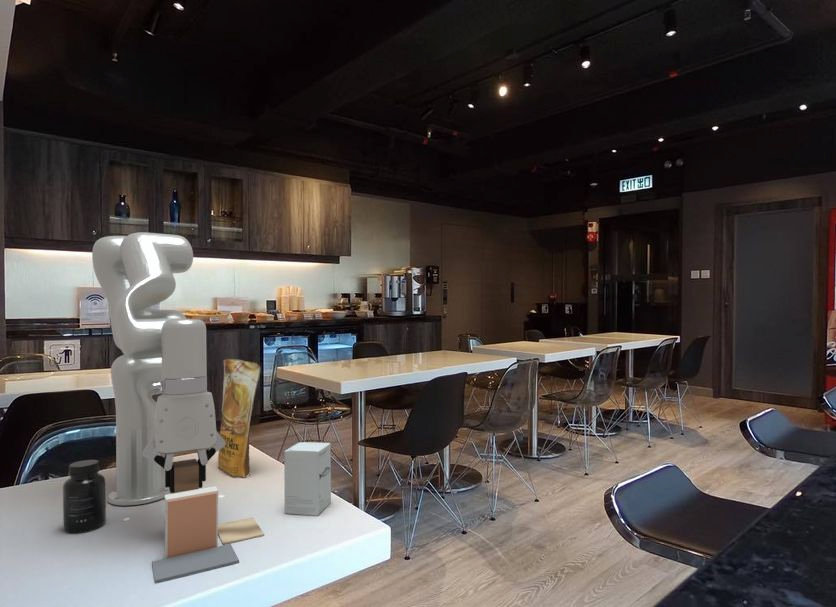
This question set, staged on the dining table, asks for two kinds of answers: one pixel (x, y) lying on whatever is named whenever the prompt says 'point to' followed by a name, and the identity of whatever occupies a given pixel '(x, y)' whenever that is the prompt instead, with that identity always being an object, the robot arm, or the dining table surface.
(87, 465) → the supplement bottle
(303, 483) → the supplement box
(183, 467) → the wooden block stack
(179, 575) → the mat
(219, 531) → the pad
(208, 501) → the tile
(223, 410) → the pancake mix bag
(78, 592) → the dining table surface
